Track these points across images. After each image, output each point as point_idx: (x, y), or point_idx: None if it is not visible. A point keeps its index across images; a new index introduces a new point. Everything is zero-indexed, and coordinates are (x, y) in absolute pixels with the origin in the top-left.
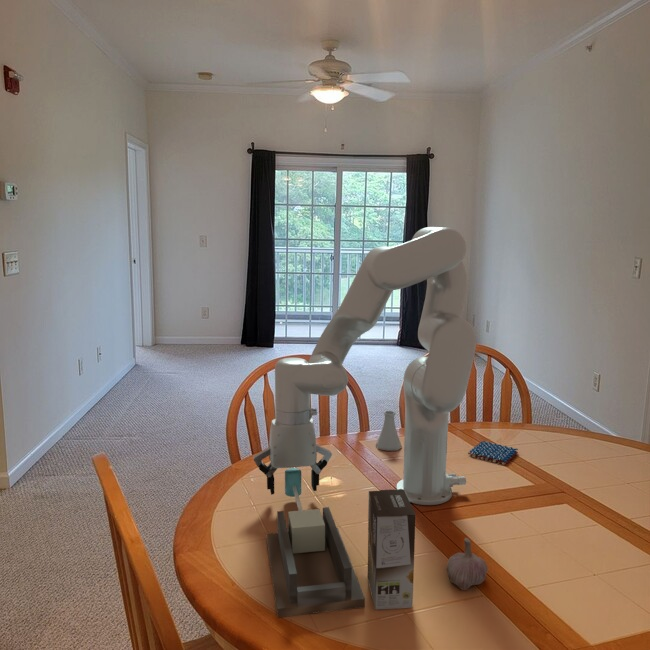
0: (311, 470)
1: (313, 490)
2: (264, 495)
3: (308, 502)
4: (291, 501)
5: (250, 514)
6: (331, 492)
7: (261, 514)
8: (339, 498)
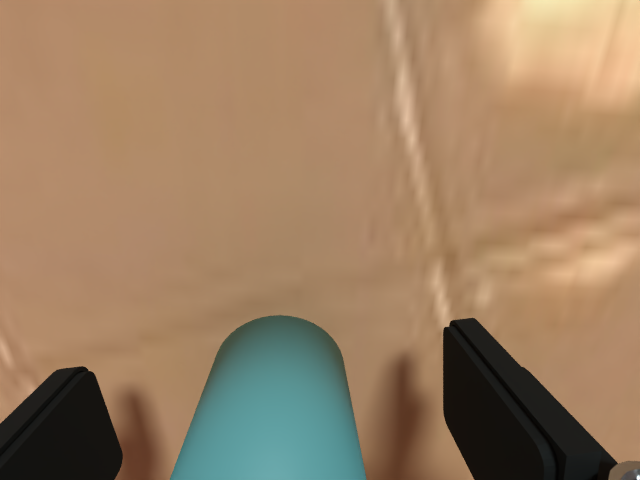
0: (537, 459)
1: (446, 420)
2: (60, 242)
3: (381, 347)
4: None
5: None
6: (560, 219)
7: None
8: (586, 304)
